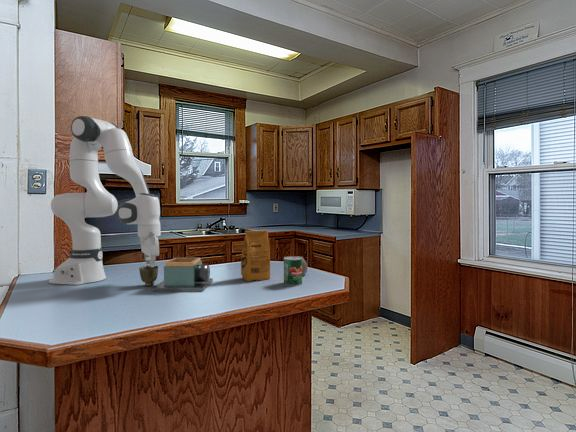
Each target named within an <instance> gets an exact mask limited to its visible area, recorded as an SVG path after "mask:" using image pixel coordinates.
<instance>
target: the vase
mask: <svg viewBox="0 0 576 432" xmlns="http://www.w3.org/2000/svg"><path fill="white" fill-rule="evenodd" d="M297 257H302V277H303V276H306V274H307V272H308V263H307V261H306V260H305V259H304V257H303V256H301V255H299V256H297Z"/></svg>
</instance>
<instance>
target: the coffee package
mask: <svg viewBox="0 0 576 432" xmlns="http://www.w3.org/2000/svg"><path fill="white" fill-rule="evenodd" d="M244 235H245V236H244V239H243V244H242V249H241V257H240V258H241V259H240V275H241V276H242V277H241V278H242V279H243V280H244V281H245V282H251V281H252V282H253V281H264V280H269V279H270V278H271V247H270V239H269V233H268V229H262V230H244Z"/></svg>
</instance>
